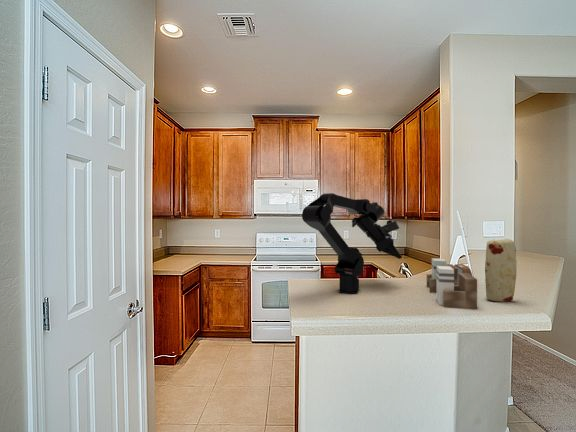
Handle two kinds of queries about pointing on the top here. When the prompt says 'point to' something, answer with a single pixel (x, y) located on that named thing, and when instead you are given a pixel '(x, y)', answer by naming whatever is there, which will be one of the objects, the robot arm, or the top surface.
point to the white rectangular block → (444, 281)
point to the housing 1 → (433, 282)
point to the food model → (500, 270)
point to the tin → (463, 269)
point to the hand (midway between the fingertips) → (401, 257)
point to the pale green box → (436, 263)
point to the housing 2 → (462, 293)
